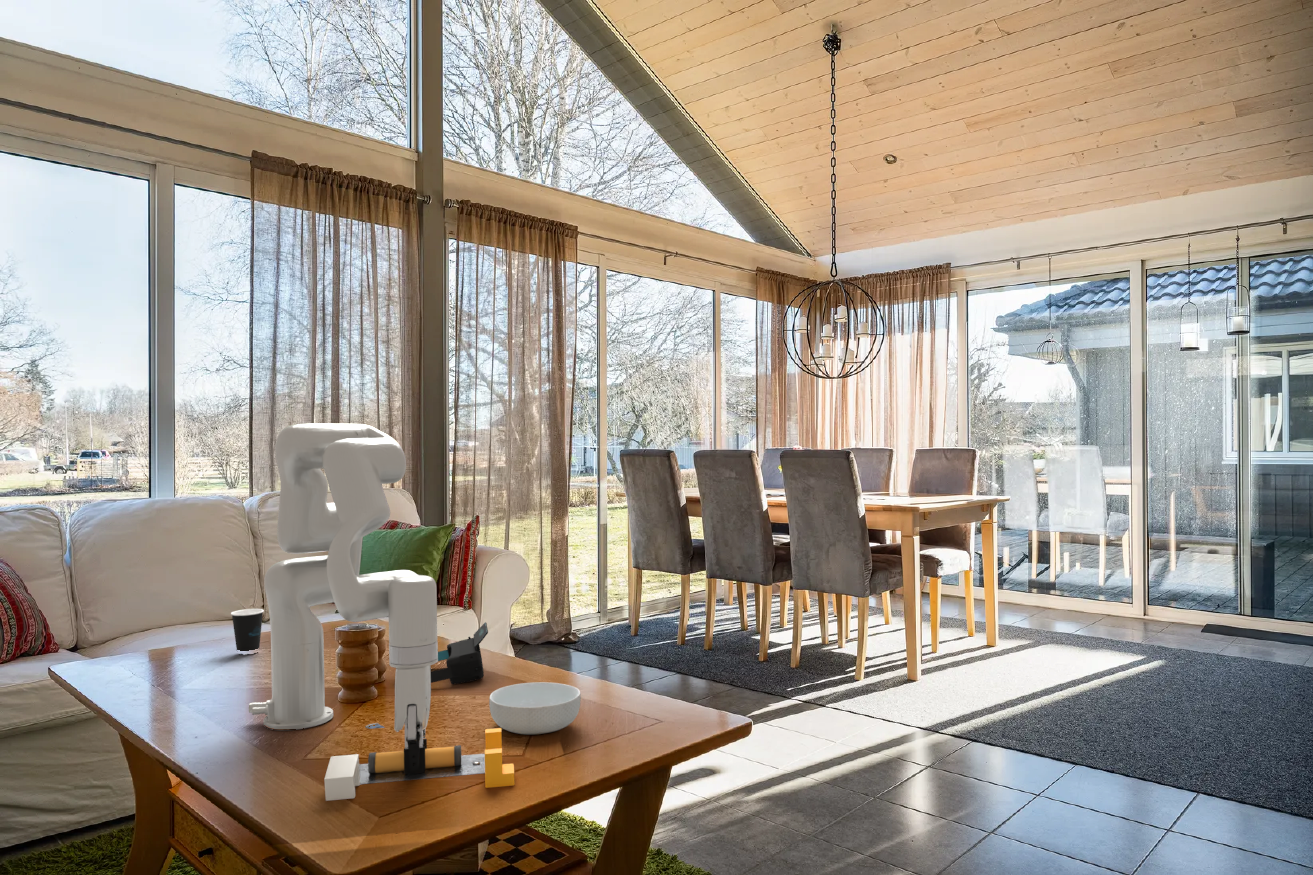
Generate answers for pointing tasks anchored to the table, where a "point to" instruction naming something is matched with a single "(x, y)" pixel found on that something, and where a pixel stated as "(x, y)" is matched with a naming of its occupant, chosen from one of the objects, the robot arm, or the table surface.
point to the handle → (396, 759)
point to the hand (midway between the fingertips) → (415, 767)
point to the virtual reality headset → (462, 660)
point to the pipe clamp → (496, 761)
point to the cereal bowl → (534, 707)
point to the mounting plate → (427, 771)
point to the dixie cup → (247, 628)
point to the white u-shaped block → (342, 777)
